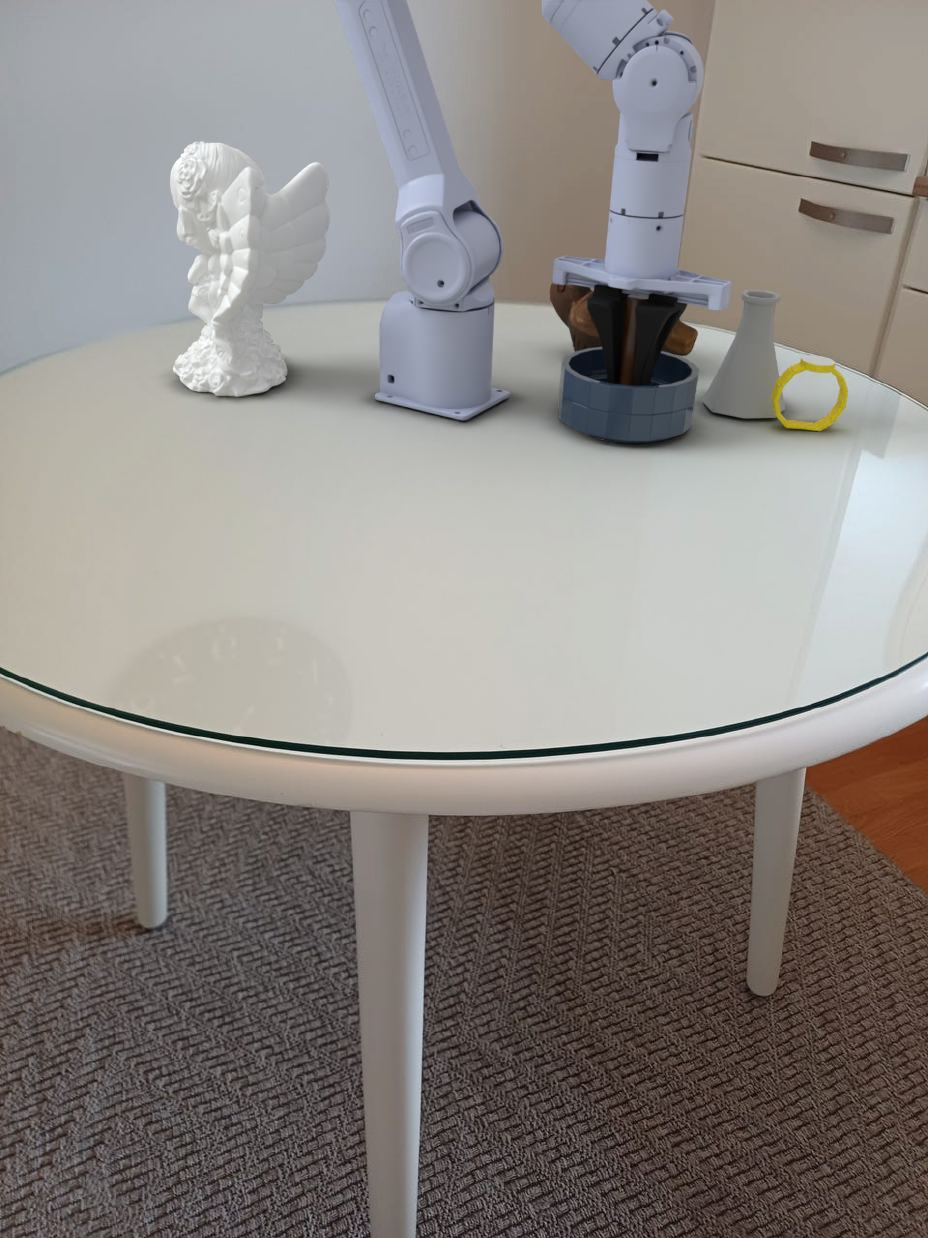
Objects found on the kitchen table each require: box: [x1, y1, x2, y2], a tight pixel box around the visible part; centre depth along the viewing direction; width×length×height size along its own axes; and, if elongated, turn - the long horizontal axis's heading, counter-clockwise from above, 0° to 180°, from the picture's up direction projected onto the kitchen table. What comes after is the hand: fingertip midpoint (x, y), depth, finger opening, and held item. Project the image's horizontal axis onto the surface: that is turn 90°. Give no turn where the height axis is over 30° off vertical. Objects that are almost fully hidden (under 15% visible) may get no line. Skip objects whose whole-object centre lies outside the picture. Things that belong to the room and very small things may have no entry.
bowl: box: [557, 347, 700, 444], centre depth 91 cm, size 11×11×5 cm
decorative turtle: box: [549, 282, 699, 357], centre depth 106 cm, size 10×15×8 cm, turn 70°
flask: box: [701, 289, 786, 419], centre depth 94 cm, size 7×7×10 cm
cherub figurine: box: [169, 140, 331, 398], centre depth 96 cm, size 13×12×20 cm
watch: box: [771, 354, 849, 432], centre depth 91 cm, size 6×3×6 cm, turn 89°
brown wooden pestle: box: [618, 295, 648, 386], centre depth 89 cm, size 4×4×10 cm
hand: (628, 383), depth 91 cm, fingers closed on brown wooden pestle, 2 cm apart
